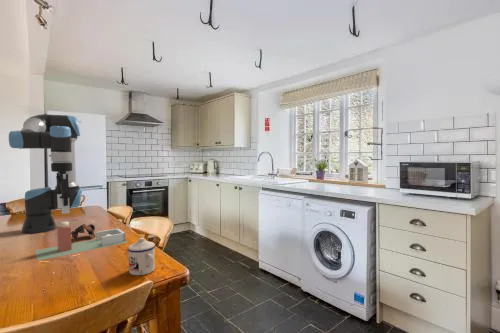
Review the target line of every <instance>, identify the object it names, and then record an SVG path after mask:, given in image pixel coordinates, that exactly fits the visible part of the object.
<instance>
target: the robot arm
mask: <svg viewBox="0 0 500 333" xmlns="http://www.w3.org/2000/svg"><path fill="white" fill-rule="evenodd" d="M22 126H23V127H22V128H21V130H10V131H9V133H8V145H9V147H10V148H12V149H20V150H21V149H23V150H24V149H27V150H28V149H40V150H41V149H48V150H50V154H48V157H49V158H50V161H51V163H50V170H51V172H55V173H56V175H55V179H56V185H55V186H54V187H55V189H54V188H53V189H52V188H51V187H50V186H47V187H39V188H34V189H33V188H32V189H30V190H27V191H26V192H25V193H24V213H25V218H24V221H23V224H22V227H21V233H22V234H36V233H37V234H38V233H44V232H48V231H52V230H54V229H57V223H56V221H55V219H54V217H53V215H52V214H53V213H52V211H55V210H61V214H62V215H64V214H65V215H66V214H70V213H71V212H70V209H75V208H79V207H80V206H81V202H82V201H81V200H82V192H83V188H82V187H80V185H79V183H77V176H76V151H75V150H76V149H75V148H76V147H75V144H76V143H75V142H76V141H77V140H78V137H80V136H81V133H80V132H81V131H80V127H79V121H78V118H77V117H76V116H74V115H66V114H65V115H64V114H62V115H61V114H47V113H45V114H44V113H43V114H37V115H34V116H30V117H28V118H27V119H25V120H24V122H23V124H22Z"/></svg>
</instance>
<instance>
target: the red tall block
mask: <svg viewBox="0 0 500 333" xmlns="http://www.w3.org/2000/svg"><path fill="white" fill-rule="evenodd" d="M56 232H57V235H56V237H57V246H58V251H59V252H63V251H68V250H72V245H71V244H72V234H71V232H72V228H71V226H70V222H69V221H61V222H60V221H59V222H58V226H56Z"/></svg>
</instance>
